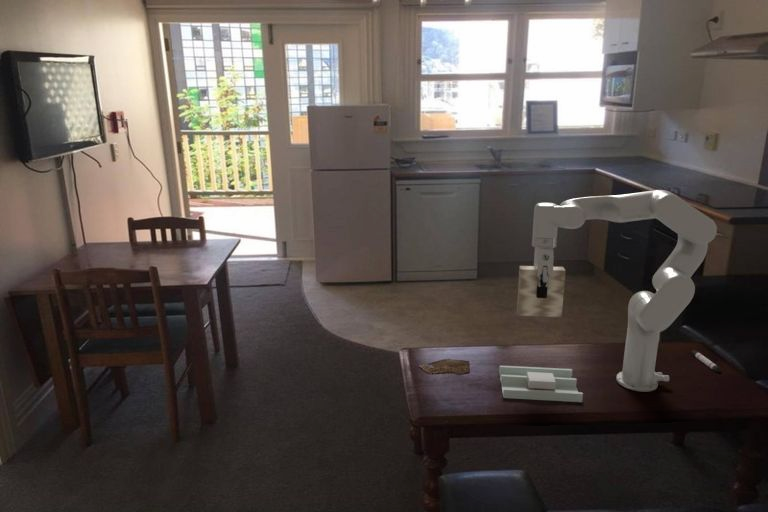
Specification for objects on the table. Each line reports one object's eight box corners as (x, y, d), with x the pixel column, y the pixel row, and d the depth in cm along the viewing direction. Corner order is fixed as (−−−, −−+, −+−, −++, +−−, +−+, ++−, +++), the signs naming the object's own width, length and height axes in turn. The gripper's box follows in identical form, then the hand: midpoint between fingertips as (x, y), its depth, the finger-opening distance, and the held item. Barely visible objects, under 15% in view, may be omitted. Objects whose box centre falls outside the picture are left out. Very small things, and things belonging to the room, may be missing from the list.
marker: (720, 372, 191) (721, 367, 191) (714, 372, 191) (715, 367, 191) (693, 352, 206) (694, 347, 205) (688, 352, 206) (689, 348, 205)
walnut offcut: (551, 387, 180) (551, 380, 179) (554, 396, 174) (555, 389, 173) (526, 385, 181) (526, 378, 180) (528, 395, 175) (529, 388, 174)
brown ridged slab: (419, 375, 191) (419, 372, 190) (417, 361, 201) (417, 358, 201) (494, 375, 191) (494, 372, 190) (488, 360, 201) (488, 357, 201)
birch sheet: (559, 312, 185) (563, 266, 180) (561, 317, 181) (565, 270, 177) (516, 311, 186) (519, 265, 182) (518, 315, 183) (520, 269, 178)
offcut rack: (570, 377, 188) (571, 368, 187) (582, 404, 171) (583, 394, 170) (498, 374, 190) (499, 364, 189) (503, 400, 174) (503, 390, 173)
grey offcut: (551, 380, 179) (552, 373, 178) (555, 389, 173) (555, 382, 173) (526, 378, 180) (527, 371, 179) (529, 388, 174) (529, 380, 174)
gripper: (561, 248, 168) (556, 304, 173) (551, 235, 184) (547, 287, 189) (535, 248, 169) (532, 304, 174) (528, 235, 185) (525, 286, 190)
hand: (540, 294), depth 182 cm, fingers closed on birch sheet, 4 cm apart
